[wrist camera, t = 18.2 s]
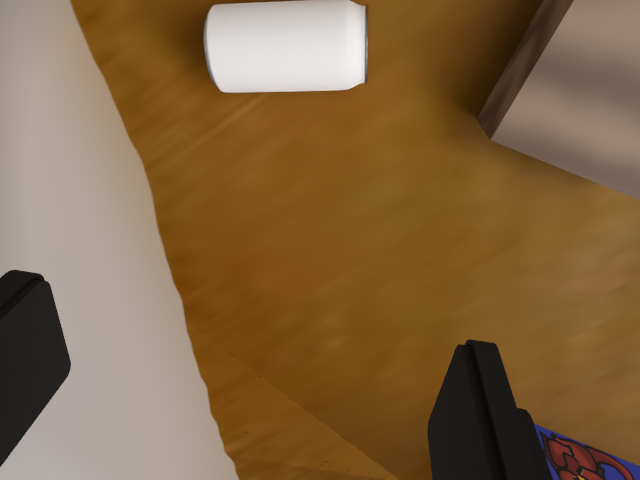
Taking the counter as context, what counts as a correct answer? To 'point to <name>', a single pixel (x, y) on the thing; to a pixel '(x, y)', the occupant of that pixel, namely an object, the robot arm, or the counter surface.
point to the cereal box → (582, 460)
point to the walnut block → (575, 92)
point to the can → (287, 45)
